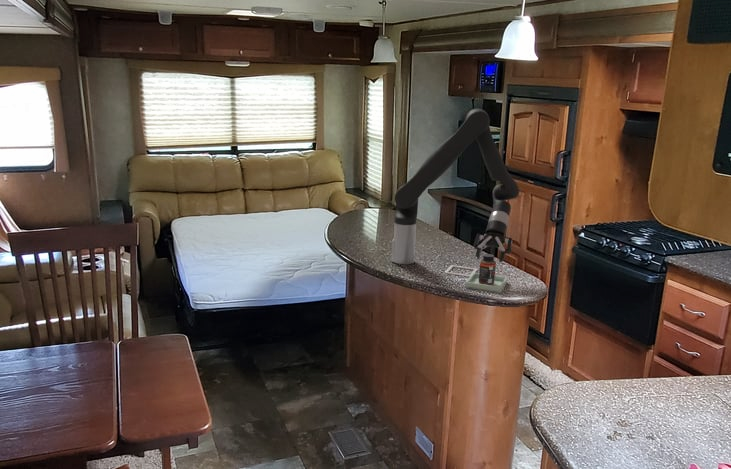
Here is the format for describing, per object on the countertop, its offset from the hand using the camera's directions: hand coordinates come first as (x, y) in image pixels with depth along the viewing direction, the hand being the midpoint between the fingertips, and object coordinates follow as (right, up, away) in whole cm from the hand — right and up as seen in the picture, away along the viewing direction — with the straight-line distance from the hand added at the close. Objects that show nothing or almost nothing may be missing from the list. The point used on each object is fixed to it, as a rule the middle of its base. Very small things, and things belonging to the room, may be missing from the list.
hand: (489, 259), depth 220 cm
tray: (-1, -10, +1) cm, 10 cm away
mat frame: (-8, -6, +16) cm, 19 cm away
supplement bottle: (-1, -9, +1) cm, 9 cm away
